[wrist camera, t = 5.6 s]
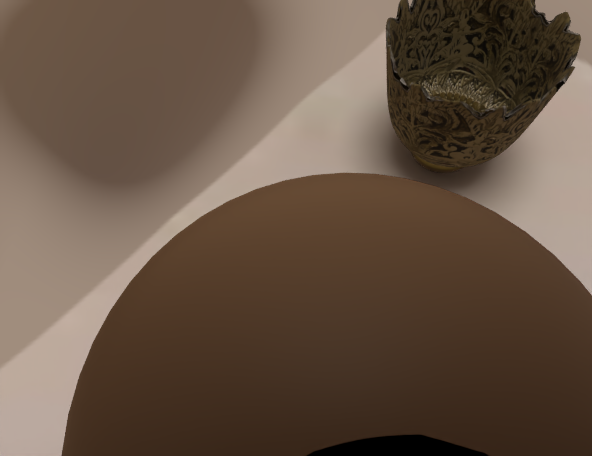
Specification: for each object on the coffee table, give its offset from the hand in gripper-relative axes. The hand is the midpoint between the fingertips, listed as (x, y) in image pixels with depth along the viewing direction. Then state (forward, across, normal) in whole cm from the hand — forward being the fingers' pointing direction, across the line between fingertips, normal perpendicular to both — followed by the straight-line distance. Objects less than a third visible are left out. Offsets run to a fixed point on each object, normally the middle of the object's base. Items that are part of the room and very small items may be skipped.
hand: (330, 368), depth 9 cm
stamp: (+4, 0, +6) cm, 7 cm away
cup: (+18, -8, 0) cm, 20 cm away
